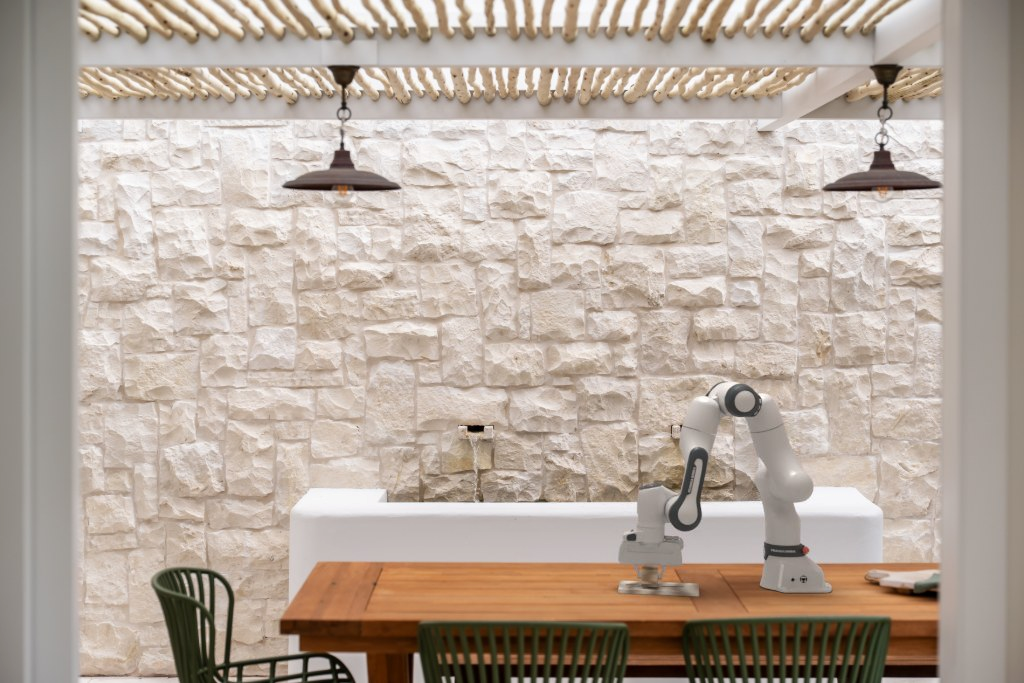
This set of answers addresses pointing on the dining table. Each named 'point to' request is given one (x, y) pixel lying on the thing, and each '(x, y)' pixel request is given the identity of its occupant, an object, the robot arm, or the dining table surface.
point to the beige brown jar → (649, 576)
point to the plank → (659, 588)
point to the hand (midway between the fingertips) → (649, 578)
